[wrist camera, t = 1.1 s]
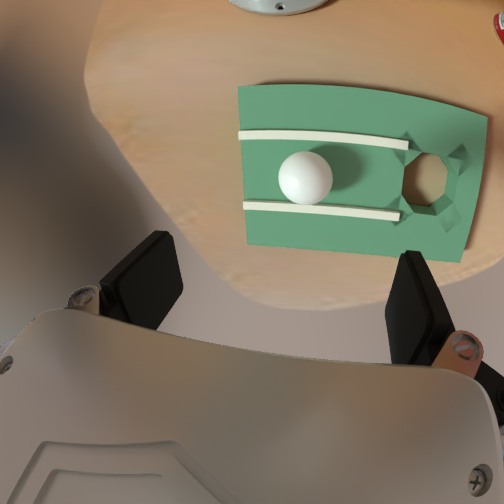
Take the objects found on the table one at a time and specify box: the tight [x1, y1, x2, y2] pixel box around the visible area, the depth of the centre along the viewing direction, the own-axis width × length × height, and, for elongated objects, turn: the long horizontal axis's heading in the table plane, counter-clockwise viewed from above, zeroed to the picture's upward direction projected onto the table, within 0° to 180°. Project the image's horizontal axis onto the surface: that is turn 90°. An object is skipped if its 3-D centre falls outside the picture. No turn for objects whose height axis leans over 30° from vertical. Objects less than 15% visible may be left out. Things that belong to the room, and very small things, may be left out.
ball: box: [278, 151, 333, 205], centre depth 22 cm, size 4×4×4 cm
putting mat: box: [238, 84, 488, 263], centre depth 23 cm, size 16×24×3 cm, turn 93°
